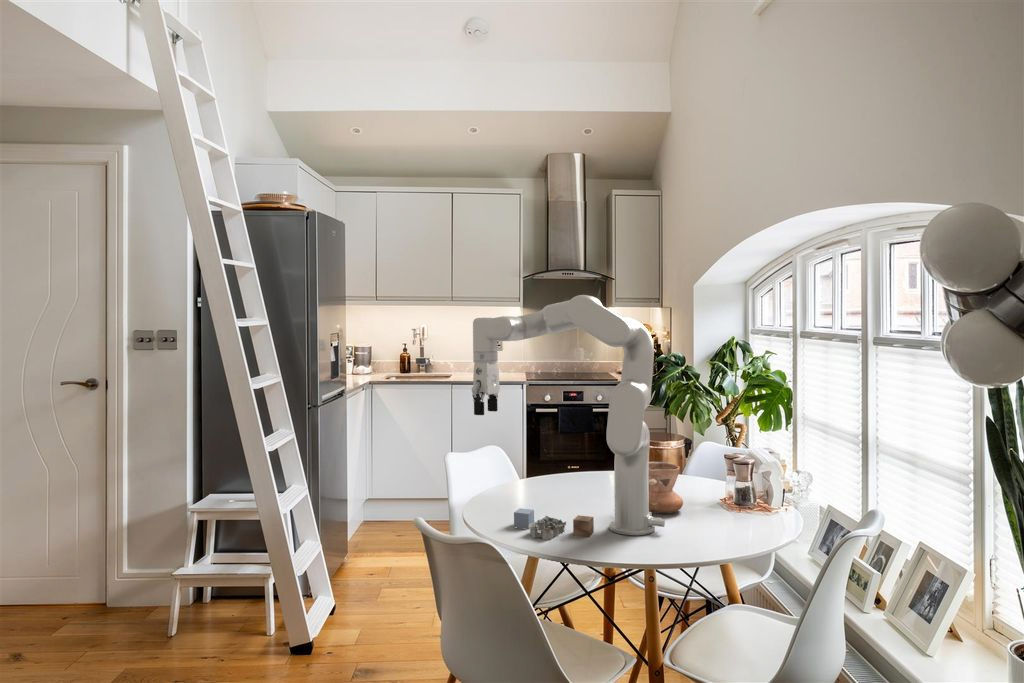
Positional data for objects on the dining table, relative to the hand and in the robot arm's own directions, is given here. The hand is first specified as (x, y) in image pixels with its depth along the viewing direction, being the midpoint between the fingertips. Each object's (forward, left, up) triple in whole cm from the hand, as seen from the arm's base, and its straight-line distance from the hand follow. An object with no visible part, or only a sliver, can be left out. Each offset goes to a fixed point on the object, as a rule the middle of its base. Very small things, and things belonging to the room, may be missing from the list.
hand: (486, 413), depth 197 cm
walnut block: (-33, +9, -31) cm, 47 cm away
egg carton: (-24, +12, -32) cm, 41 cm away
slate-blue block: (-15, +8, -31) cm, 36 cm away
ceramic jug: (-49, -22, -31) cm, 62 cm away
